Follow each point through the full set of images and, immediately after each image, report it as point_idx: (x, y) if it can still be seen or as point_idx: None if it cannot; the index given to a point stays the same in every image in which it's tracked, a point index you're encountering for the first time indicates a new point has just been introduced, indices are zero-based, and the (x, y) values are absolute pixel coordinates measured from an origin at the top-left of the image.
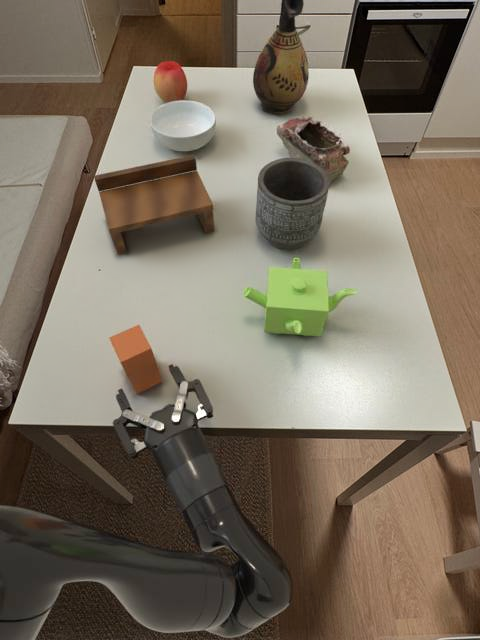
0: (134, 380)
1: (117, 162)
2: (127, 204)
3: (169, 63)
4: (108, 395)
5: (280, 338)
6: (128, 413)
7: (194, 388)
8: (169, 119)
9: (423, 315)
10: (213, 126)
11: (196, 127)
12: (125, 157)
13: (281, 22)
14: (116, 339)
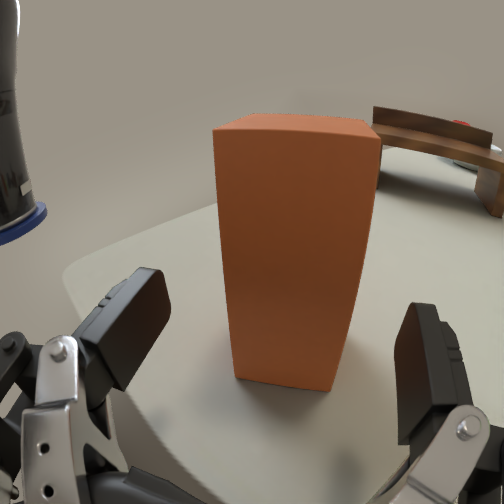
0: (243, 310)
1: (398, 152)
2: (403, 132)
3: (462, 122)
4: (178, 333)
5: None
6: (59, 357)
7: (494, 476)
8: None
9: None
10: (500, 152)
11: None
12: (407, 153)
13: None
14: (268, 115)
